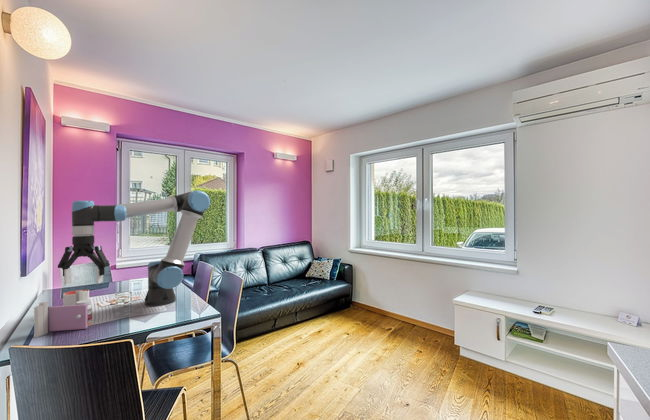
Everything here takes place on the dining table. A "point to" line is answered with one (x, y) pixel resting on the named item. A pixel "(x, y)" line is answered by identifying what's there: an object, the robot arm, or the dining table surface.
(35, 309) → the wall
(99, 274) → the robot arm
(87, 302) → the pill bottle
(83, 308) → the door
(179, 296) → the dining table surface
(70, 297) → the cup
